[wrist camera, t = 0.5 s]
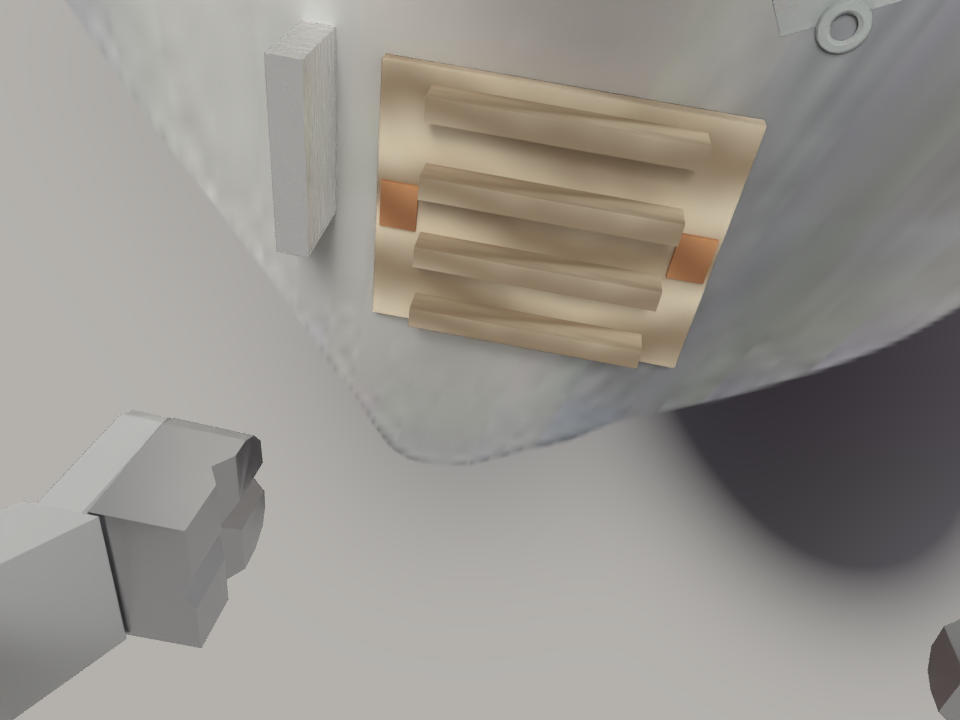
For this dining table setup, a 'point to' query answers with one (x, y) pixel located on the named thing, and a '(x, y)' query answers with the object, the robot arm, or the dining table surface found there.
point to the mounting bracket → (826, 19)
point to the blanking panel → (302, 134)
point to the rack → (550, 210)
